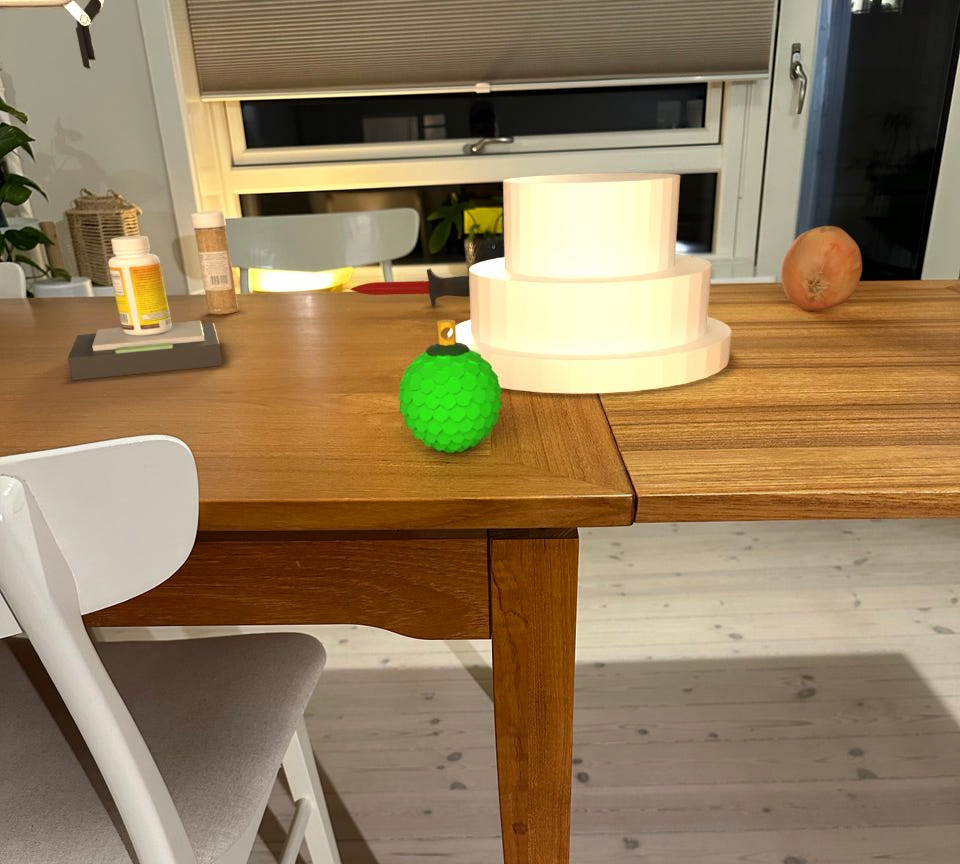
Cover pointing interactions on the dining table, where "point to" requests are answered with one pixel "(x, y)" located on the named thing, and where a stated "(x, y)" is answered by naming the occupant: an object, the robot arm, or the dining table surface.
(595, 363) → the cake
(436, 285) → the knife
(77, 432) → the dining table surface
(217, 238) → the sprinkles bottle
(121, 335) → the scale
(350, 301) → the dining table surface
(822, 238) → the onion
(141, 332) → the supplement bottle
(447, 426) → the ornament
